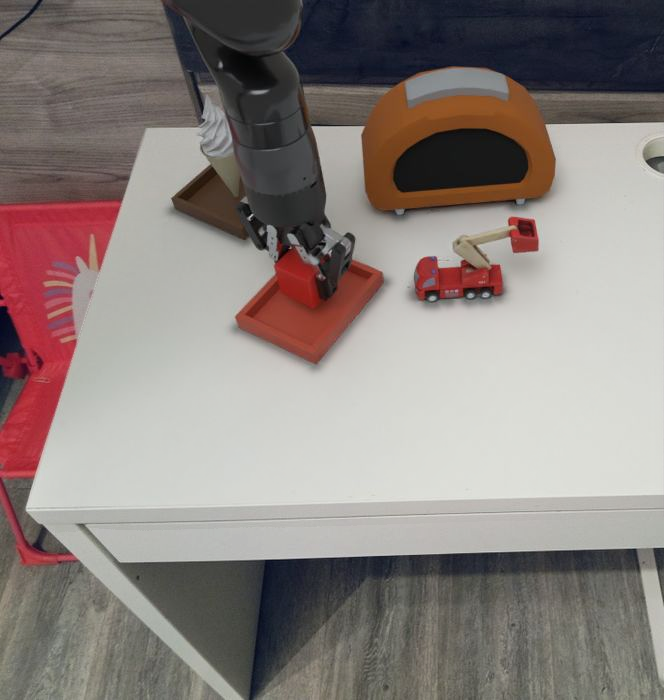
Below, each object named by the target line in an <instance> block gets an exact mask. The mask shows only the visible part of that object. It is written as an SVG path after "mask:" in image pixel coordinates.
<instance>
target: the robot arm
mask: <svg viewBox="0 0 664 700" xmlns="http://www.w3.org/2000/svg"><path fill="white" fill-rule="evenodd" d="M160 1H161V2H162V3H164V4H165V5H166V6H168V7H170V8H171V9H172V10H173V11H175V12H177V13H178V15H179V14H180V16H182V17H183V20H184V22H185V24H186V26H187V28H188V31H189V33H190V35H191V37H192V39H193V41H194V44H195V45H196V48H197V50H198V51H199V54H200V56H201V58H202V60H203V62H204V64H205V66H206V67H207V69H208V71H209V74H210V75H211V77H212V78H213V79H212V80H213V81H214V82H215V85H216V87H217V89H218V92H219V96H220V101H221V104H222V108H223V112H224V113H225V117H226V119H227V122H228V126H229V129H230V132H231V137H232V143H233V150H234V156H235V159H236V163H237V166H238V169H239V173H240V176H241V180H242V183H243V186H244V189H245V193H246V196H245V197H244V198H243V199H242V200H241V201H240V202H239V203H238V204H237V205H236V206H235V207H234V209H235V211H236V213H237V214H238V216H239V218H240V220H241V222H242V223H243V225H244V227H245V229H246V231H247V232H248V234H249V236H248V237H249V238H250V240H251V242H252V244H253V245H254V247H255V248H256V249H257V250H258V251H261V252H262V251H264V250H266V251H267V252H268V256H269V258H270V259H271V260H273V261H274V265H275V264H276V263H277V262H278V261H279V260H280V259H281V258H282V257H283V256H284V255H285V254H286V253H287V252H288V251H289V250H290V249H291V248H292V247H294V248H295V249H297V251H298V253H299V255H300V257H301V259H302V261H303V262H304V264H306V265H310V267H311V269H312V271H313V273H314V275H315V276H316V277H315V281H316V285H317V290H318V294H319V298H320V299H322V300H324V301H327V300H328V299H329V298H331V297H332V296H333V294H334V293H335V292H336V291H337V290H338V285H337V282H338V281H339V280H340V278H341V277H342V276H343V274H344V273H345V272H346V271H348V269H349V268H350V266H351V261H352V259H353V256H354V250H355V246H356V242H357V239H356V236H355V235H354V234H353V233H351V232H349V231H347V232H346V233H345V234H344V235H342V234H340V233H339V232H337V231H335V230H334V229H332V224H331V222H330V220H329V219H328V216H327V215H326V213H325V212H326V204H327V189H326V185H325V180H324V174H323V170H322V168H323V167H322V164H321V158H320V152H319V148H318V142H317V138H316V135H315V132H314V130H313V127H312V124H311V121H310V116H309V111H308V110H309V109H308V106H307V100H306V94H305V89H304V85H303V82H302V78H301V75H300V73H299V70H298V69H297V67H296V65H295V64H294V63H293V62H292V60H291V58H289V57H288V56H287V55H286V53H285V52H284V51H285V50H287V49H288V48H289V47H290V46H292V45H293V44H294V42H296V39H297V38H298V37H299V34H300V32H301V29H302V26H303V21H304V4H303V0H160ZM261 228H262V230H263V233H262V234H260V232H259V231H260V229H261ZM310 251H311V252H310ZM322 258H323V259H324V261H325V262H324V263H323V264H322V265H321V264H320V260H321V259H322Z"/></svg>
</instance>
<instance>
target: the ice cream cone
mask: <svg viewBox="0 0 664 700" xmlns="http://www.w3.org/2000/svg"><path fill="white" fill-rule="evenodd" d="M204 101H205V102H204V106H203V111H202V114H201V117H200V119H202V120H204V122H202V123H201V124H199V125H198V127H197V128H199V129H201V130H202V131H201V132H197V133H196V136H198V137H202V140H201V141H199V152H200V153H201V154H202V155H203V156H204V157H205V158H206V159H207V161H208V163H210V164H211V165H212V166H213V168H214V169H215V170H216V172H217V173H218V174H219V176H220V177H221V179H222V180H223V181H224V183H225V184H226V185H227V187H228V188H229V189H230V191H231V192H232V193H233V195H234V196H235V197H239V183H240V173H239V169H238V166H237V163H236V159H235V156H234V150H233V143H232V137H231V132H230V129H229V126H228V122H227V119H226V115H225V112H224V110H222V109H221V108H220V107H219V106H218V105H216V103H215V102H214V101H213V100H212V99H211V97H210V96H209V95H208V94H207V93H206V94H205V100H204Z"/></svg>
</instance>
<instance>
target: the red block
mask: <svg viewBox="0 0 664 700" xmlns="http://www.w3.org/2000/svg"><path fill="white" fill-rule="evenodd" d="M289 249H290V250H289V251H288V252H287V253H286V254H285V255H284V256H283V257H282V258H281V259H280V260H279V261H278V262H277V263H276V264H275V263H274V265H273V269H274V273H275V274H276V276H277V280H278V283H279V286H280V290H281V293H282V294H283V295H286V296H288V297H290V298H292V299H294V300H297V301H299V302H301V303H303V304H305V305H308V306H310V307H312V308H315V307H316V306H317V305H318V304H319V303H320V301H321V300H322V299H320V298H319V294H318V290H317V285H316V281H315V277H316V276H315V275H314V273H313V271H312V269H311V267H310V265H306V264H304V262H303V261H302V259H301V257H300V255H299V253H298V251H297V249H295V248H294V247H292V246H291V247H290V248H289ZM310 252H311V251H310ZM324 262H325V261H324V259H323V258H322V259H321V260H320V264H321V265H322V264H323V263H324Z"/></svg>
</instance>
